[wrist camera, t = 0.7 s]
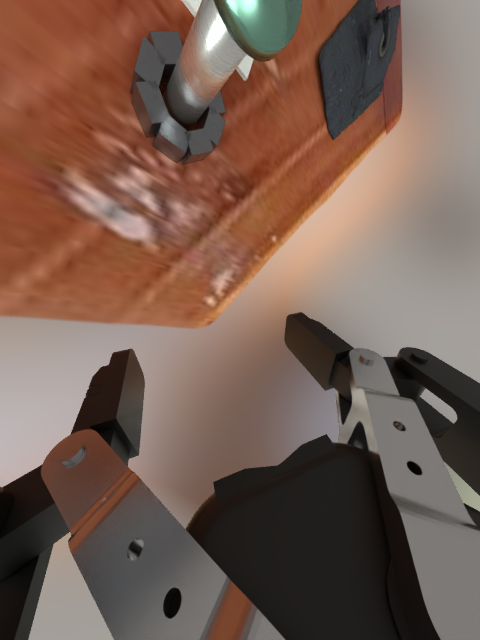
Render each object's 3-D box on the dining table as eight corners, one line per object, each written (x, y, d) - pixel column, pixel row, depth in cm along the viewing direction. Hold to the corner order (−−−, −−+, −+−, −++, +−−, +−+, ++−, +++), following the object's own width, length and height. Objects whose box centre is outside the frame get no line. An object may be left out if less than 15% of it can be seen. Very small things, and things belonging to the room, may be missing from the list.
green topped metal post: (139, 120, 24) (192, -54, 10) (156, 58, 23) (238, -219, 9) (192, 162, 28) (280, 78, 14) (208, 110, 27) (315, -28, 14)
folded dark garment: (303, 42, 32) (329, 15, 29) (371, -12, 37) (402, -42, 33) (327, 148, 41) (350, 137, 38) (380, 94, 46) (405, 80, 42)
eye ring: (121, 123, 23) (124, 105, 20) (147, 30, 22) (153, -2, 19) (199, 179, 29) (209, 172, 26) (221, 108, 28) (234, 93, 25)
